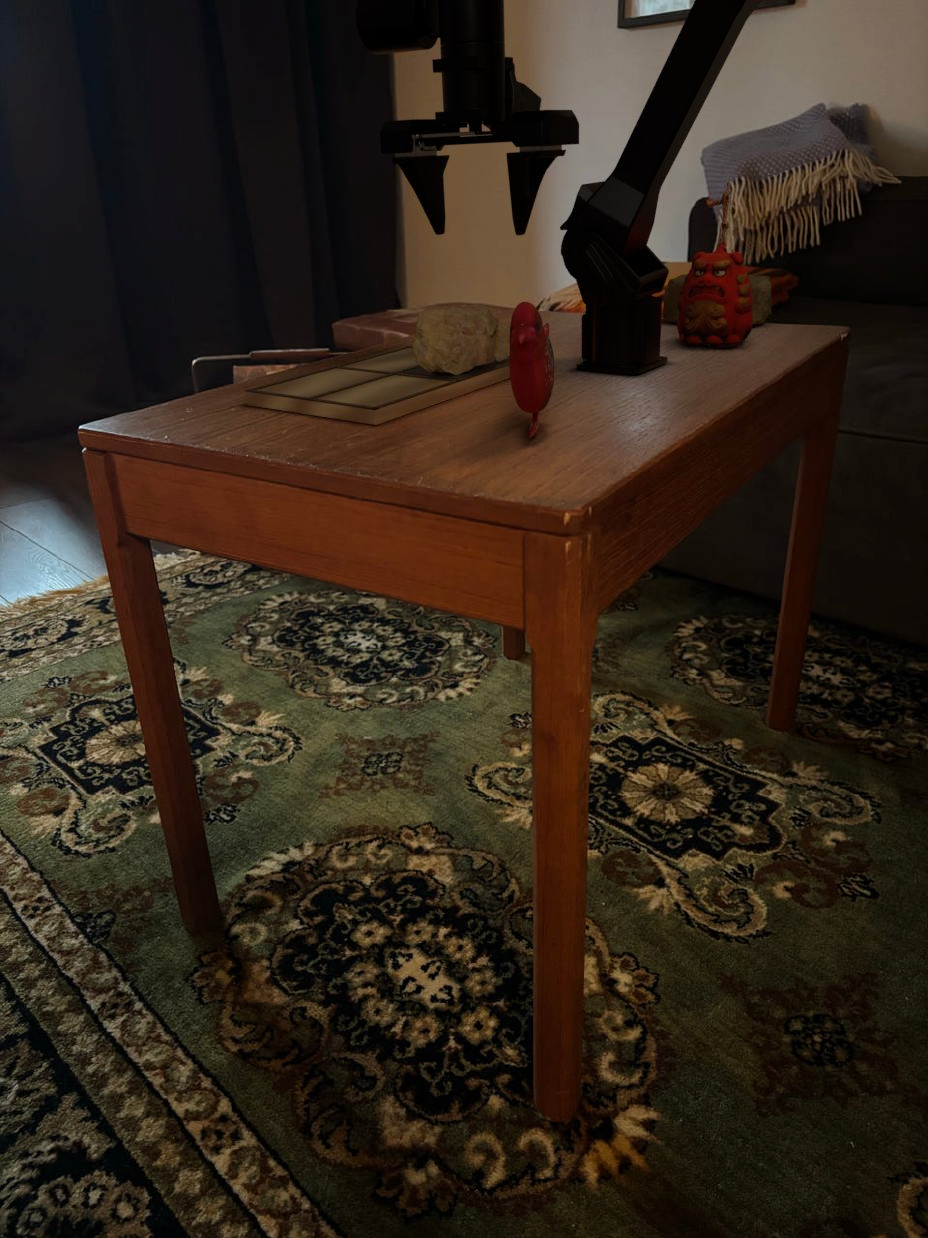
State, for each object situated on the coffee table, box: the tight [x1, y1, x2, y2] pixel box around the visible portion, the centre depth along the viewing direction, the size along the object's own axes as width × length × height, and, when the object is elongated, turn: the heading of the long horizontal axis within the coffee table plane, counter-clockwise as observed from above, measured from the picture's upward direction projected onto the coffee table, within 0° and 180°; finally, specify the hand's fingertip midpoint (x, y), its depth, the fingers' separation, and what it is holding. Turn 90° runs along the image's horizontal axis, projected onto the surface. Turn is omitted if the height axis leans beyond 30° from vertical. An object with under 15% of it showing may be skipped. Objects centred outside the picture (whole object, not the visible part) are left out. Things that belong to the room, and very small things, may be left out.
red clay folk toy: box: [676, 182, 754, 348], centre depth 96 cm, size 8×7×15 cm
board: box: [245, 345, 510, 426], centre depth 87 cm, size 15×22×1 cm
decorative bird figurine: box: [509, 301, 555, 440], centre depth 71 cm, size 3×18×10 cm, turn 170°
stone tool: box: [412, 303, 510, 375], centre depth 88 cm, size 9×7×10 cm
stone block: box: [662, 273, 773, 325], centre depth 109 cm, size 6×12×5 cm, turn 57°
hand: (479, 234), depth 92 cm, fingers open, 9 cm apart
